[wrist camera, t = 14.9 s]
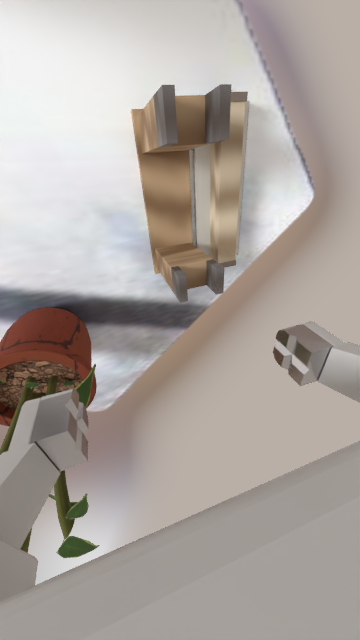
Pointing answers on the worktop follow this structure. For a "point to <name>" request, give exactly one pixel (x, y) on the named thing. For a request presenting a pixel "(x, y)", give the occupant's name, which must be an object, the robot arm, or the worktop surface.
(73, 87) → the worktop surface
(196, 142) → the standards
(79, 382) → the potted plant
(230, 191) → the rail
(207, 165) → the mat
